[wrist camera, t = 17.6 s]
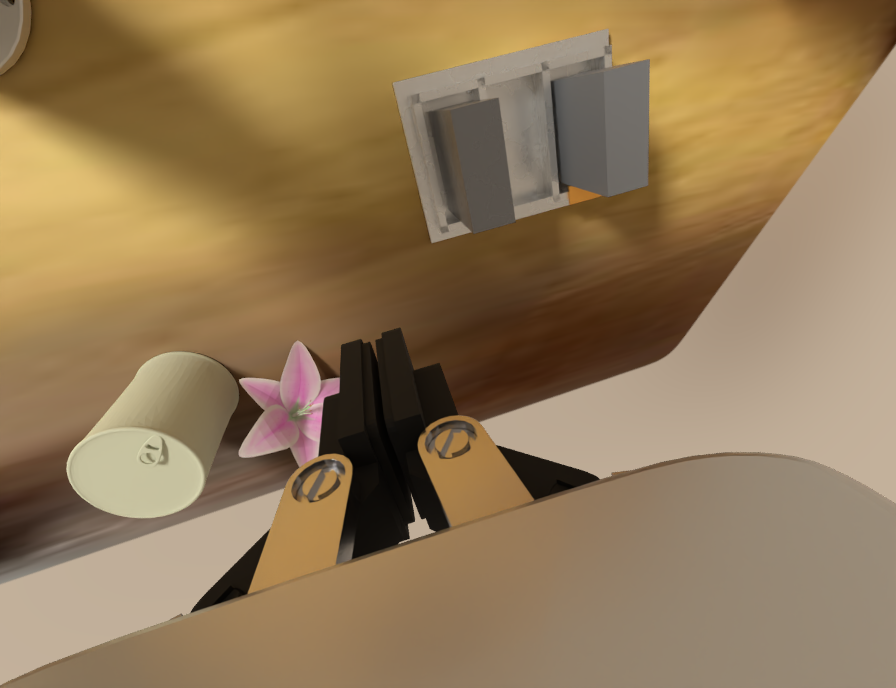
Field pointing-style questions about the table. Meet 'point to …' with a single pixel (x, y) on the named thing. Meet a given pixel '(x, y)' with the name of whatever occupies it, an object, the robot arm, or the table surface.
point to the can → (156, 438)
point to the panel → (603, 128)
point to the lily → (289, 409)
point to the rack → (492, 136)
